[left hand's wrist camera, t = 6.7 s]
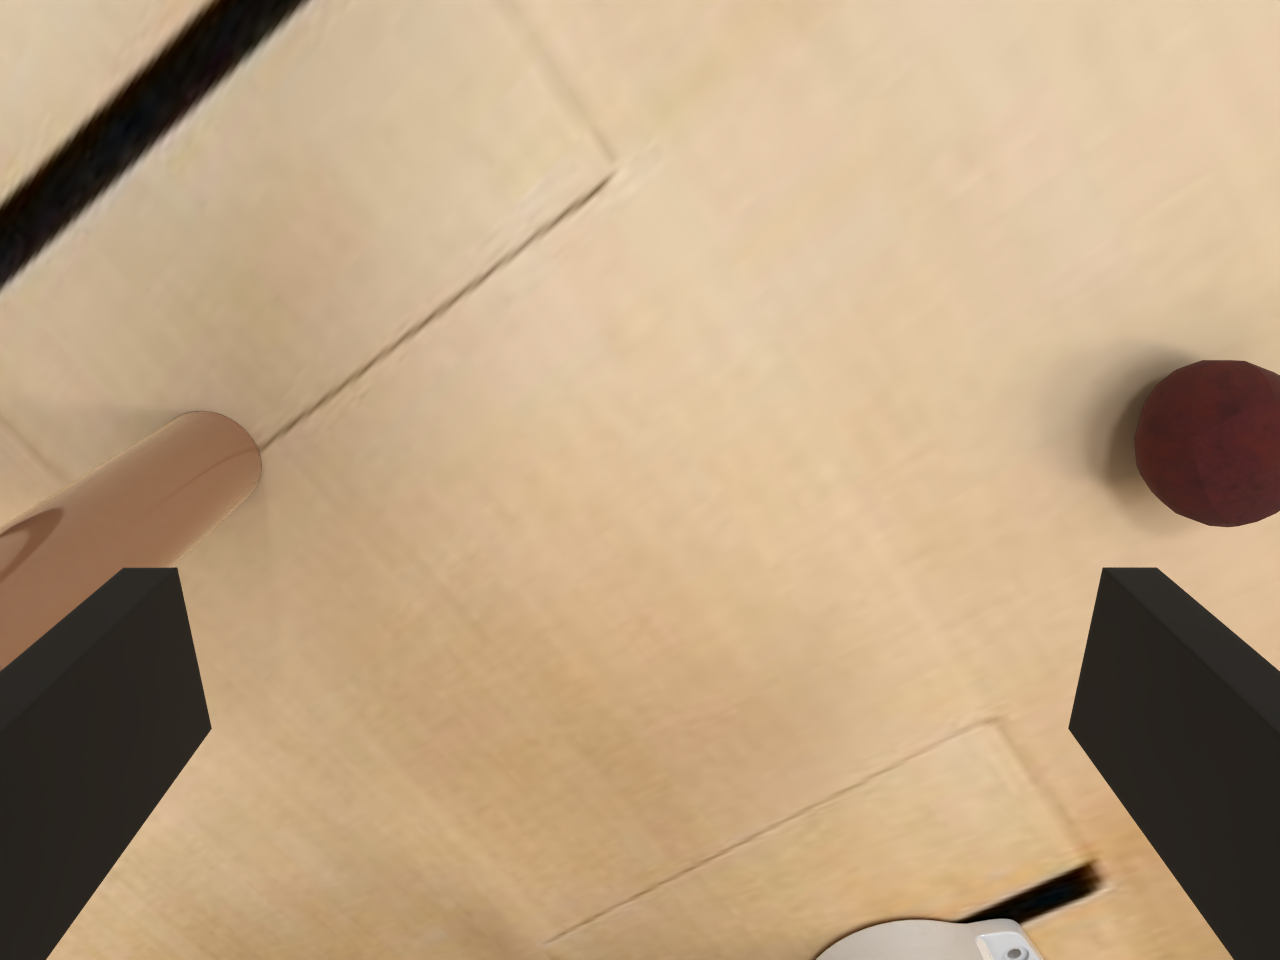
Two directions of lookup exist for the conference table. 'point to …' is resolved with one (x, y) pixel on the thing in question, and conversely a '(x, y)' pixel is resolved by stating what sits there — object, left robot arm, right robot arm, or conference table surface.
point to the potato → (1213, 442)
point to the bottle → (121, 521)
